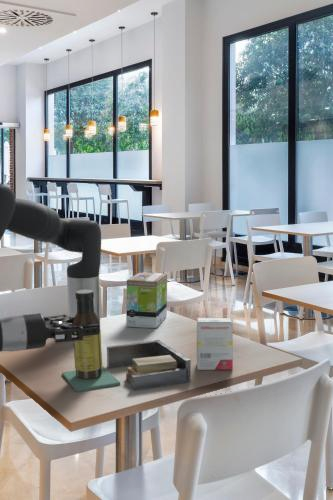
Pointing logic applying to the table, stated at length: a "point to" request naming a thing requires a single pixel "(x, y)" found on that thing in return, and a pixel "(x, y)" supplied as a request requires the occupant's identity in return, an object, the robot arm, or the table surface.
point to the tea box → (146, 300)
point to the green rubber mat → (90, 380)
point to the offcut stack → (151, 365)
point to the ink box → (214, 344)
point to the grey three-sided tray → (128, 352)
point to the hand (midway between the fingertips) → (93, 324)
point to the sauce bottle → (87, 338)
